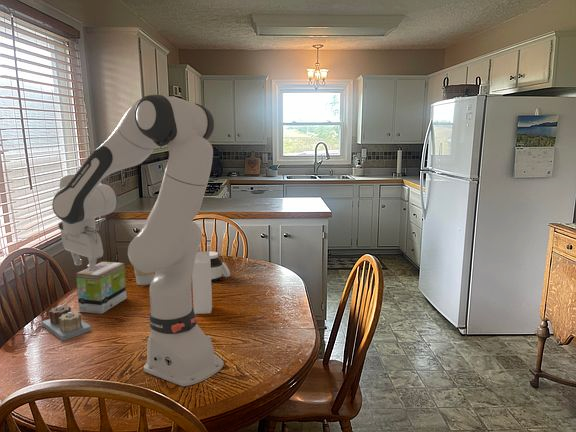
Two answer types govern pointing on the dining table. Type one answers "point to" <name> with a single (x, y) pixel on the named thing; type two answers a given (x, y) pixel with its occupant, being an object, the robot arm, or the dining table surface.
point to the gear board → (67, 334)
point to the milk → (202, 283)
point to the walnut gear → (58, 313)
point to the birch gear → (70, 322)
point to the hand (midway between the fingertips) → (85, 267)
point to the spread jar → (217, 267)
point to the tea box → (101, 287)
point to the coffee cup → (143, 277)
